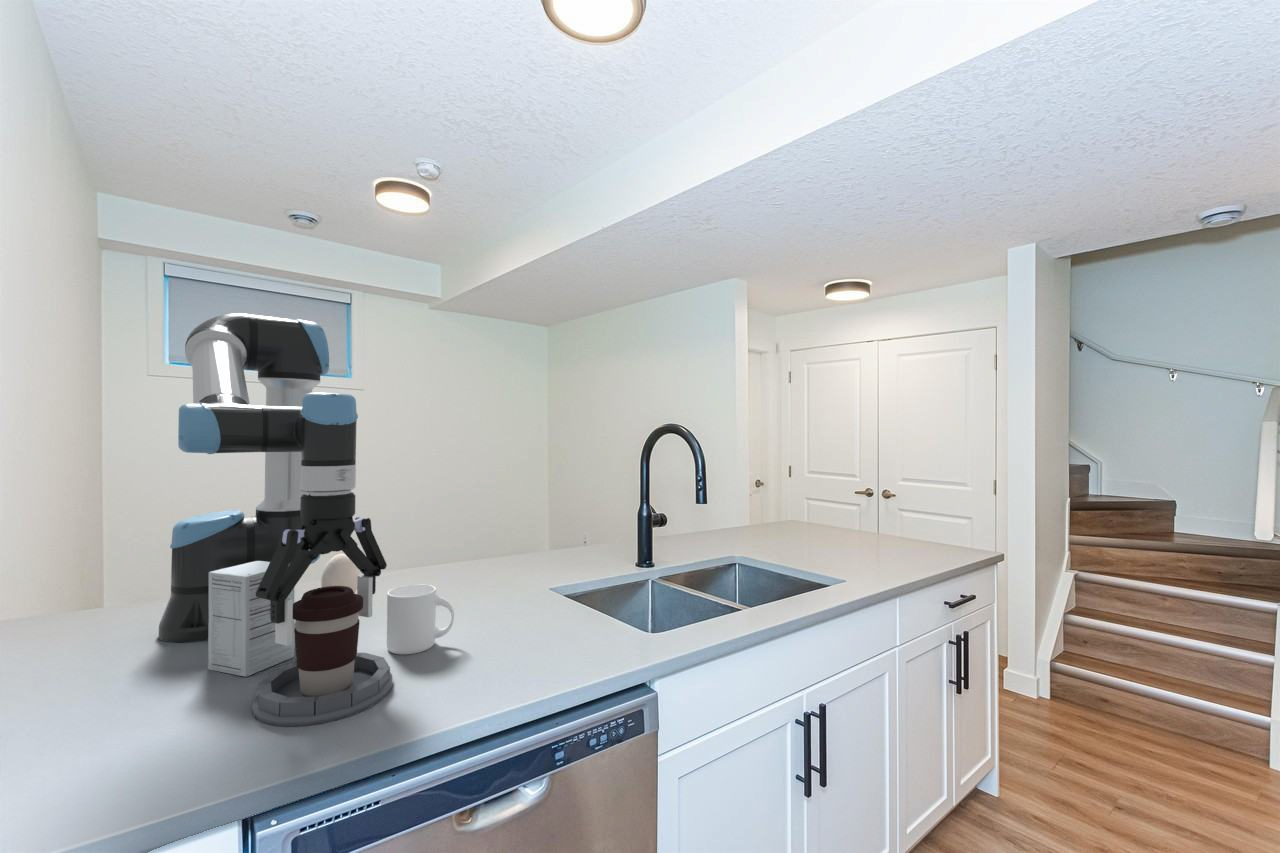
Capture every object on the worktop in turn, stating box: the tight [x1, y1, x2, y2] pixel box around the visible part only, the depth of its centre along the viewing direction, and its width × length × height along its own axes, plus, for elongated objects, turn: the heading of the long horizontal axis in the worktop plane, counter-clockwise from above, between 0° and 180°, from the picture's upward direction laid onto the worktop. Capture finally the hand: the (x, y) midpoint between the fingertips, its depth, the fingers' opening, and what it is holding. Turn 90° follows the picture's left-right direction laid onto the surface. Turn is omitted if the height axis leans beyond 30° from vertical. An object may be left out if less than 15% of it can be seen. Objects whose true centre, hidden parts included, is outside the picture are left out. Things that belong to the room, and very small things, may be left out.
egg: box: [320, 553, 360, 594], centre depth 134 cm, size 8×8×11 cm
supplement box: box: [207, 561, 295, 678], centre depth 100 cm, size 10×9×17 cm
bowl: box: [251, 652, 393, 728], centre depth 89 cm, size 19×19×3 cm
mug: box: [386, 583, 455, 656], centre depth 109 cm, size 9×12×11 cm
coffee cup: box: [293, 586, 363, 697], centre depth 89 cm, size 10×10×15 cm
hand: (326, 628), depth 89 cm, fingers open, 13 cm apart
